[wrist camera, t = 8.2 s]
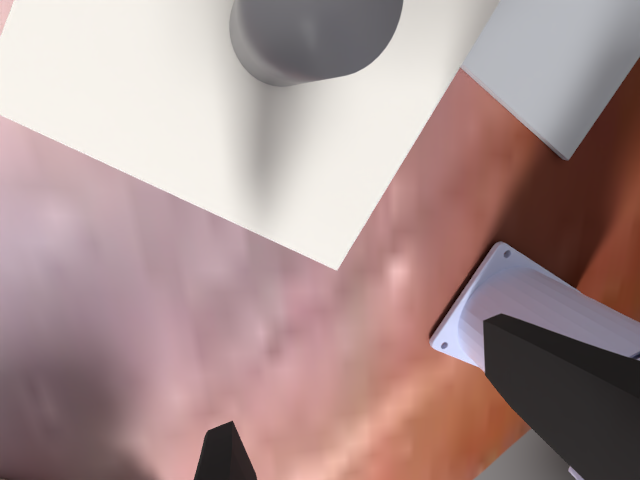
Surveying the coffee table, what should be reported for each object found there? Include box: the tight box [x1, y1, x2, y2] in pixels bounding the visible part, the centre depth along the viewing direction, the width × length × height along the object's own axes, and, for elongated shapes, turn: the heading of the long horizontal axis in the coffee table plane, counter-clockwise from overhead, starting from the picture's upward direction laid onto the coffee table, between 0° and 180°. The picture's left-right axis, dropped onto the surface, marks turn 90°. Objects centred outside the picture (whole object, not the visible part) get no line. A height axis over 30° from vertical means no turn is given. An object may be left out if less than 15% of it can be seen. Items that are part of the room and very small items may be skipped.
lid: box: [0, 0, 500, 270], centre depth 9 cm, size 12×12×6 cm
